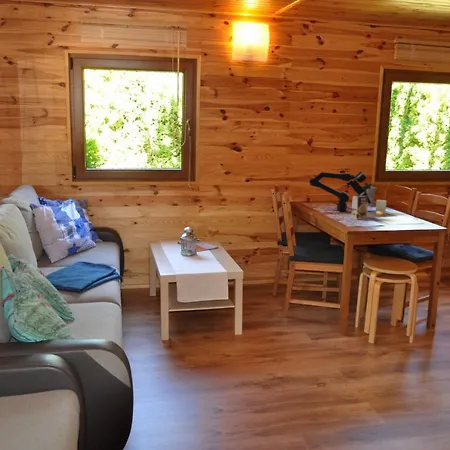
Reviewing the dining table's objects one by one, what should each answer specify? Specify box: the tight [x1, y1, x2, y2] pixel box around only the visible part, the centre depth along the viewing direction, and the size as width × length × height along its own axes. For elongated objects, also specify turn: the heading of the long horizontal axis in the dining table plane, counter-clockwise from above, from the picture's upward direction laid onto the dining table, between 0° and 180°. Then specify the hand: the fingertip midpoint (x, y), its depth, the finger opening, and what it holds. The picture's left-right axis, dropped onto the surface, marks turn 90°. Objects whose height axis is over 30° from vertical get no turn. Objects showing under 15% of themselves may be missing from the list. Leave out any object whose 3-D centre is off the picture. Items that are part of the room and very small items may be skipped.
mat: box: [367, 211, 397, 219], centre depth 382 cm, size 24×20×1 cm
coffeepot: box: [366, 183, 379, 208], centre depth 421 cm, size 15×9×18 cm, turn 103°
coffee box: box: [350, 195, 368, 221], centre depth 364 cm, size 9×6×16 cm
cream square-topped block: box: [374, 199, 387, 214], centre depth 386 cm, size 7×7×10 cm
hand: (370, 202), depth 387 cm, fingers open, 9 cm apart
